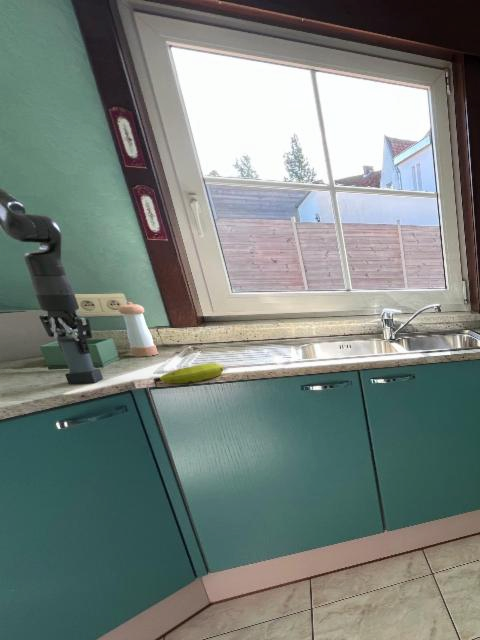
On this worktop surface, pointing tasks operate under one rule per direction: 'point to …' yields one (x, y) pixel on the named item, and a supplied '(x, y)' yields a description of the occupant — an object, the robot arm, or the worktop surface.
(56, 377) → the worktop surface
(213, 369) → the banana
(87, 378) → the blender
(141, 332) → the salt shaker
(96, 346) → the tote
